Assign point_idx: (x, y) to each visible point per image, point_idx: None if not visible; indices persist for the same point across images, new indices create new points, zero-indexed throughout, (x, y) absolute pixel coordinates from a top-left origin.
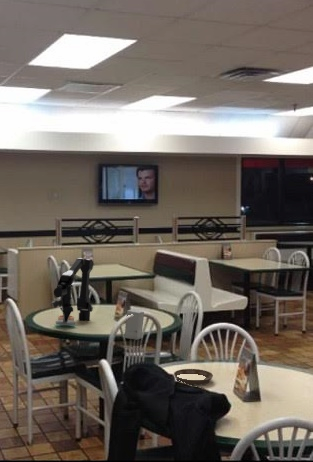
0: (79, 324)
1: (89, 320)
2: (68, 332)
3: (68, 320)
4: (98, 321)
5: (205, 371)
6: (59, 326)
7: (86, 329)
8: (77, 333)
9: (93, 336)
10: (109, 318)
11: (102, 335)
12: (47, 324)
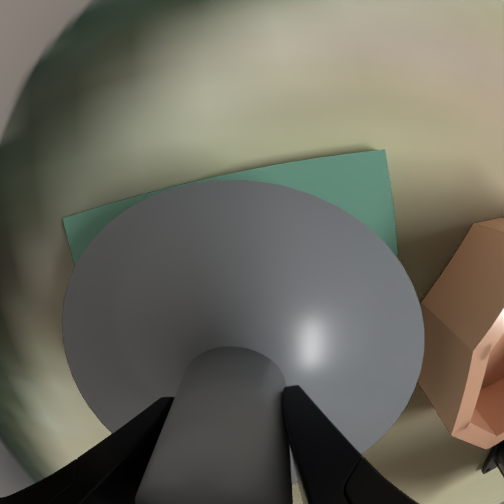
0: (402, 451)
1: (483, 471)
2: (9, 349)
3: (367, 422)
4: (458, 499)
5: None
6: None
7: None
8: (18, 407)
9: (15, 458)
10: (496, 499)
11: None
12: (411, 55)
